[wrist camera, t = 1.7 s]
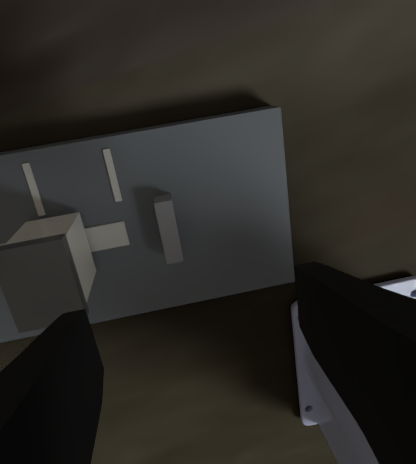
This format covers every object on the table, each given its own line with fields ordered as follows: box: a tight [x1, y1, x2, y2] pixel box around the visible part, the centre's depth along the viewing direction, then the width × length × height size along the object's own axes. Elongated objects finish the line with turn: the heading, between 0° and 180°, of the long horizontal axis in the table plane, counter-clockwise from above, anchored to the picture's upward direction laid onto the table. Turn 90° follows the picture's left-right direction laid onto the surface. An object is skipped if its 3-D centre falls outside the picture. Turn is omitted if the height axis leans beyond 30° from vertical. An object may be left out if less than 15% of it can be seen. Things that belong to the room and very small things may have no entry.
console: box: [0, 106, 295, 343], centre depth 19 cm, size 9×22×3 cm, turn 99°
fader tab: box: [0, 212, 96, 333], centre depth 16 cm, size 3×3×4 cm
